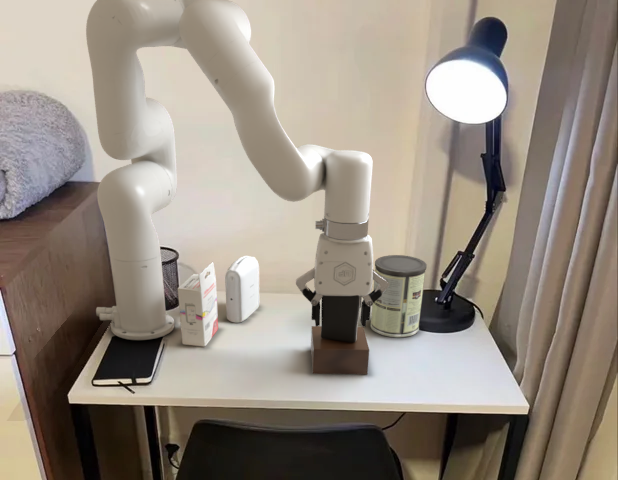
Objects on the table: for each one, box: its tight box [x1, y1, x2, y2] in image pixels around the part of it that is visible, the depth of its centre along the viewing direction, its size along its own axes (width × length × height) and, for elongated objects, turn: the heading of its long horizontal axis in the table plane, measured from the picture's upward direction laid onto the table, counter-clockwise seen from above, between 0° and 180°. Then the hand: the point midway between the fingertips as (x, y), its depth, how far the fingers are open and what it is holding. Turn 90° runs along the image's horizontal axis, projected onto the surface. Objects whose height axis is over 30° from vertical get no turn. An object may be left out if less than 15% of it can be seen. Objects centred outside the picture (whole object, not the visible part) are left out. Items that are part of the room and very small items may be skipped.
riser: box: [310, 325, 370, 375], centre depth 124 cm, size 10×10×5 cm
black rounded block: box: [320, 295, 363, 343], centre depth 120 cm, size 7×4×11 cm, turn 74°
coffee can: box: [370, 254, 428, 338], centre depth 136 cm, size 10×10×14 cm
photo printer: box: [224, 255, 260, 323], centre depth 140 cm, size 10×4×12 cm, turn 160°
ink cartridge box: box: [177, 261, 219, 347], centre depth 129 cm, size 9×5×15 cm, turn 168°
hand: (340, 323), depth 121 cm, fingers open, 7 cm apart
